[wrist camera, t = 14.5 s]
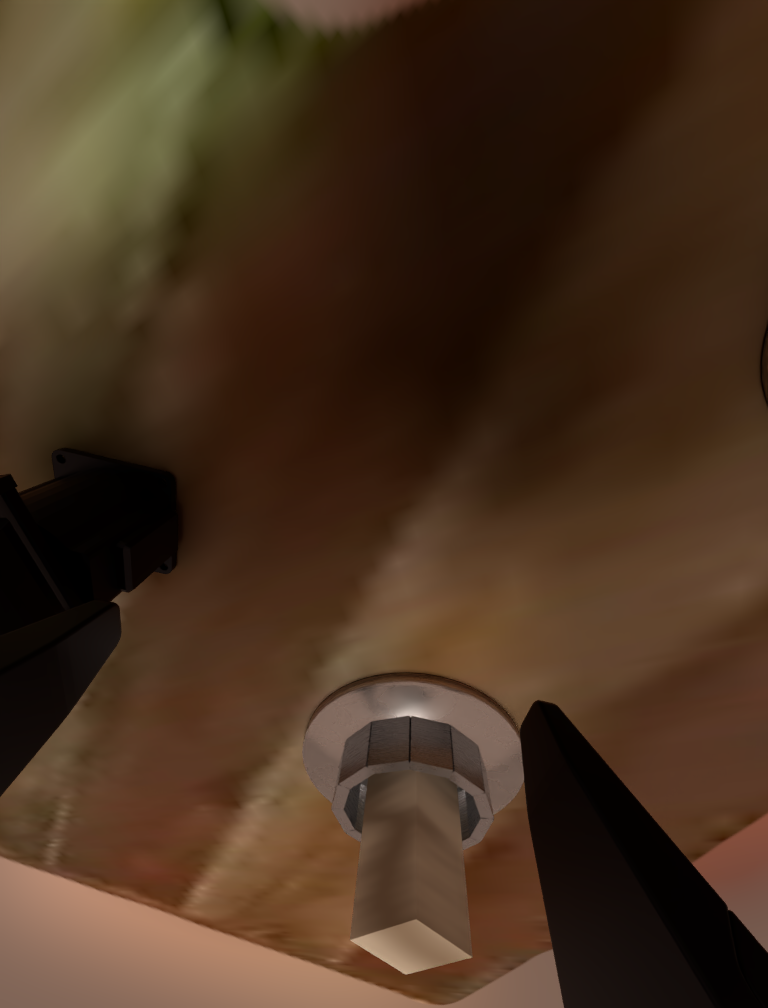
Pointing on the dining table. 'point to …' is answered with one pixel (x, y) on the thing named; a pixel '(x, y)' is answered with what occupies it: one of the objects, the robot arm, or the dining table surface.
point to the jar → (765, 367)
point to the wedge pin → (411, 873)
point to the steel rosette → (414, 745)
